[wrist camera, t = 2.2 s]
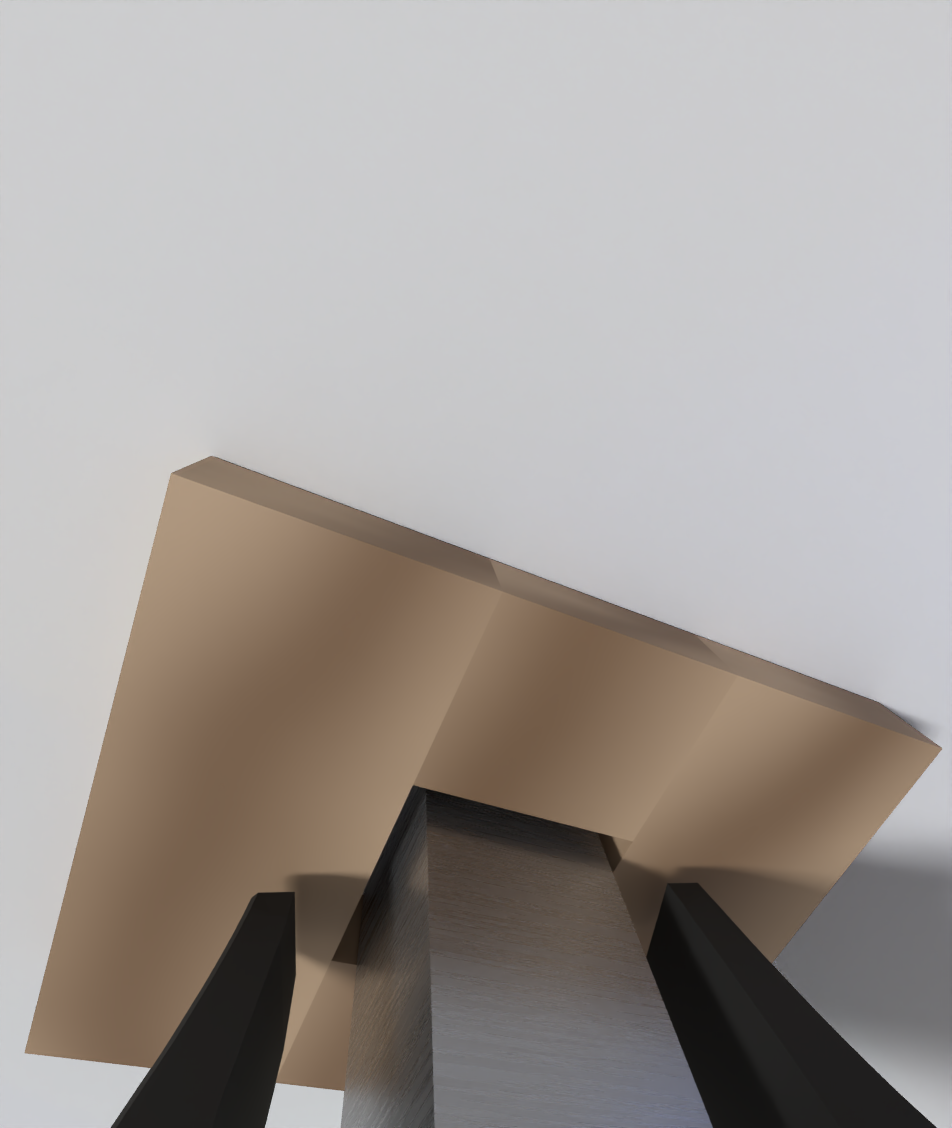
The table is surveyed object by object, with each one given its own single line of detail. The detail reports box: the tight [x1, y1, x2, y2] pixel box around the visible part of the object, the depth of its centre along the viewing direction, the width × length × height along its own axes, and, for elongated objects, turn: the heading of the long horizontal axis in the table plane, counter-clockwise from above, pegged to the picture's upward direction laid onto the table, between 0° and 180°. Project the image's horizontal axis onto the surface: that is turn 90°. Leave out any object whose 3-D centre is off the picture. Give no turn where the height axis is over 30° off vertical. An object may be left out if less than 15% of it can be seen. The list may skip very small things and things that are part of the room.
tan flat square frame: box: [25, 456, 942, 1091], centre depth 11 cm, size 14×12×2 cm
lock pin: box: [341, 785, 713, 1128], centre depth 8 cm, size 4×4×7 cm
